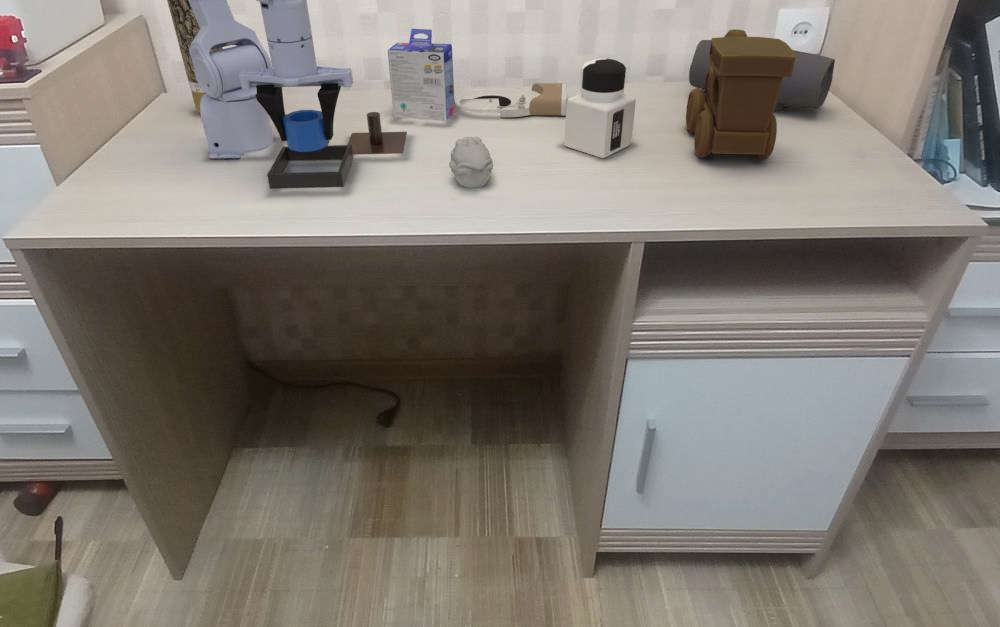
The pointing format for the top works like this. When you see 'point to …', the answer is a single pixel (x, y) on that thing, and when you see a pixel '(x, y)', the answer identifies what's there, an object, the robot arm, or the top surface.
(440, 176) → the top surface
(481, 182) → the frog figurine
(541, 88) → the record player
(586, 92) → the container
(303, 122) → the tape roll
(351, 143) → the tape holder
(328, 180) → the tray
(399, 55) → the ink cartridge box
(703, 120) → the wooden toy train
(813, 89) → the bluetooth speaker
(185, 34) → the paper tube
